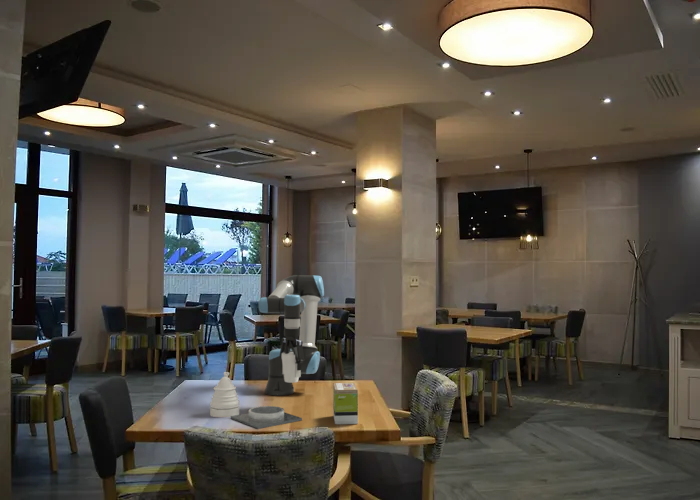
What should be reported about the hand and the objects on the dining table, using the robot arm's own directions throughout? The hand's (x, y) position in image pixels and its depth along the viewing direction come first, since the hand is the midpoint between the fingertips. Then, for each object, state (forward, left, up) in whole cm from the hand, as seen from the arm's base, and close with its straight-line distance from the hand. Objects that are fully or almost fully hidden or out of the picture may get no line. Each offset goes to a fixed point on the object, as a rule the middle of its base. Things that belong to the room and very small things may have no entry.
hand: (291, 375), depth 267 cm
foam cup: (0, 0, -3) cm, 3 cm away
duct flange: (+20, +10, -15) cm, 27 cm away
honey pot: (+29, -10, -15) cm, 35 cm away
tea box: (-6, +32, -15) cm, 36 cm away
